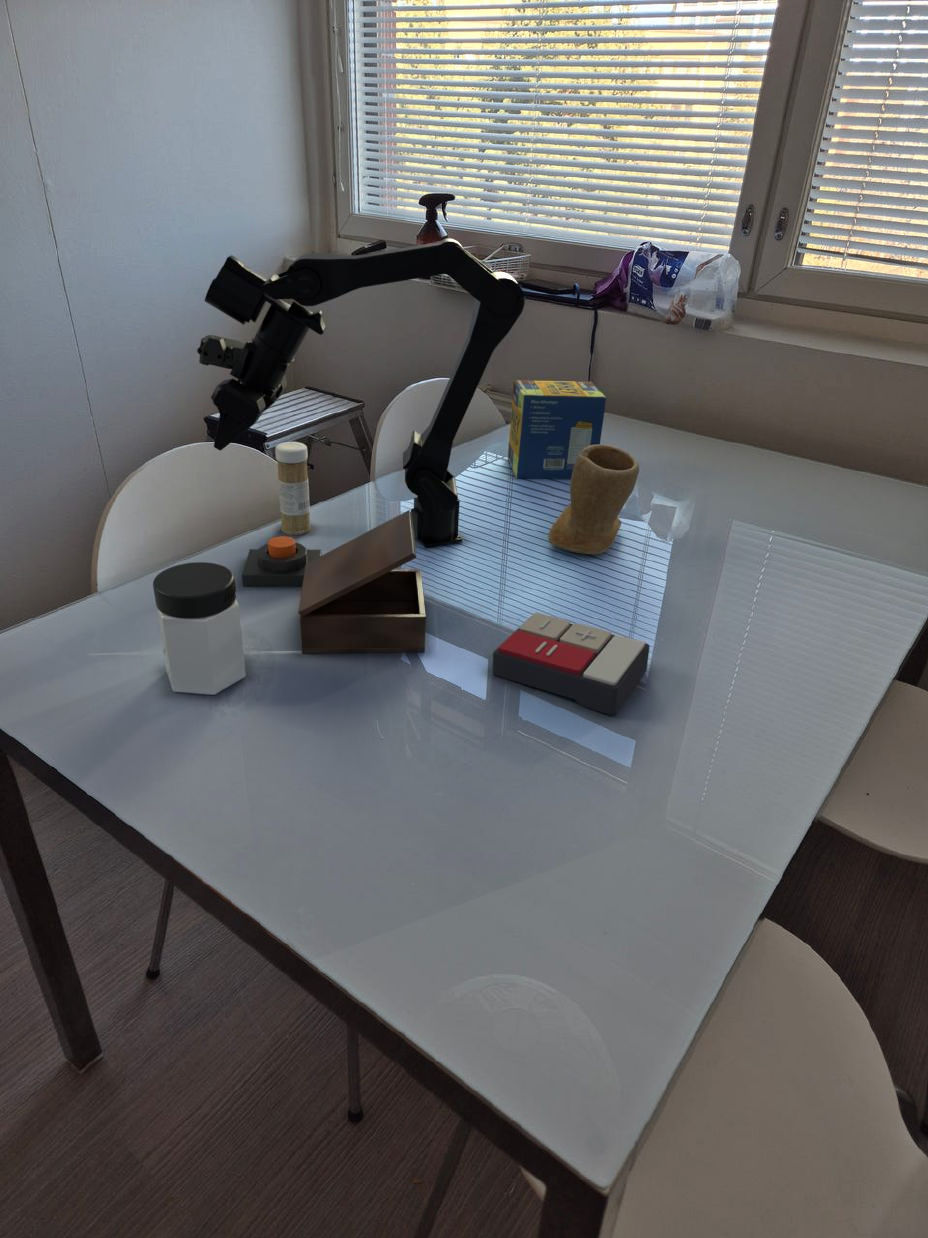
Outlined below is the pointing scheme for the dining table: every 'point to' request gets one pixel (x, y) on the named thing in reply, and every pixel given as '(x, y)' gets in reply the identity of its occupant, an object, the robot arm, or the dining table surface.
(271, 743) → the dining table surface
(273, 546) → the button
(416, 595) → the wooden box
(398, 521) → the lid
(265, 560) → the control block
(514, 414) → the protein box
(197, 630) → the jar
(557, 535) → the stone cup
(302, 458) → the sprinkles bottle
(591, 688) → the calculator
